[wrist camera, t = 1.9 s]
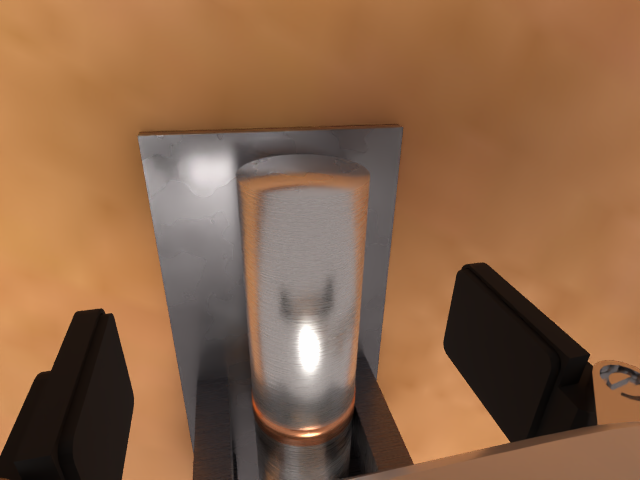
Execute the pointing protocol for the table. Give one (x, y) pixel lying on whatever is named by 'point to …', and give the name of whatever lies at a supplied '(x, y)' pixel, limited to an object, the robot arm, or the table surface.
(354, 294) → the tube
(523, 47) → the table surface
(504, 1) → the table surface
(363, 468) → the rail
